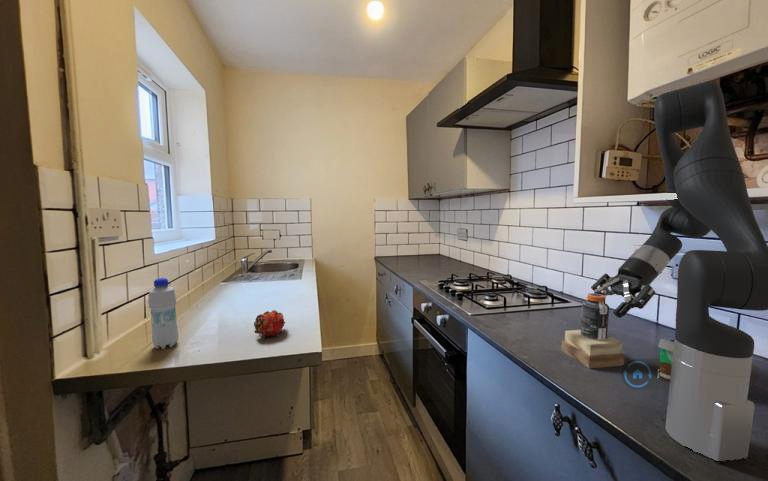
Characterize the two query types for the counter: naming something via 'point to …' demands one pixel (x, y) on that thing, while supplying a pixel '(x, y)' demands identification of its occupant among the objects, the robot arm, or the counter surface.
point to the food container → (666, 358)
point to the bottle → (163, 314)
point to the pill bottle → (595, 317)
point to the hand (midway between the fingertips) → (602, 309)
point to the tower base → (592, 358)
